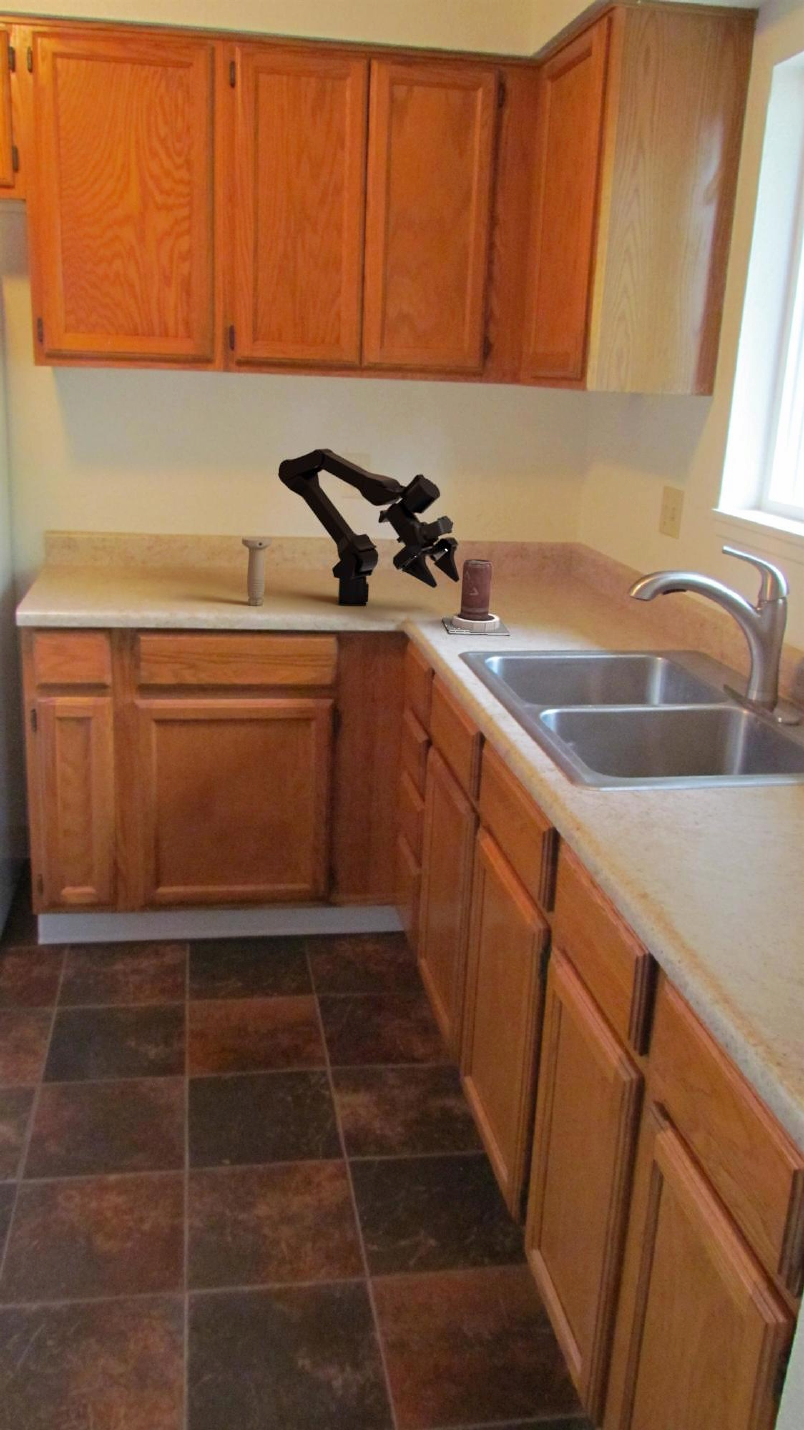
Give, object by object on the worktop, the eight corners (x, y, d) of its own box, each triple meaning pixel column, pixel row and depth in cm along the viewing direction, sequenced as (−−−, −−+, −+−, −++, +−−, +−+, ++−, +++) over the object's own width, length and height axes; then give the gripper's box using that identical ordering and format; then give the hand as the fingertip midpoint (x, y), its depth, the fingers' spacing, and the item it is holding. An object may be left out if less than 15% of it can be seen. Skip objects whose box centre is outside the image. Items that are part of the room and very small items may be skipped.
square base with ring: (449, 634, 256) (449, 623, 255) (442, 619, 268) (442, 609, 268) (509, 635, 257) (510, 624, 257) (499, 621, 270) (500, 611, 269)
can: (487, 628, 260) (492, 564, 255) (458, 626, 260) (462, 562, 256) (489, 622, 265) (494, 559, 261) (461, 620, 266) (465, 557, 262)
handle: (272, 606, 273) (274, 540, 268) (245, 607, 270) (246, 541, 265) (265, 601, 277) (266, 536, 272) (238, 603, 274) (239, 537, 269)
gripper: (407, 507, 255) (448, 567, 252) (453, 500, 270) (492, 556, 267) (375, 539, 261) (414, 598, 259) (422, 531, 276) (460, 586, 274)
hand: (446, 583), depth 264 cm, fingers open, 9 cm apart
